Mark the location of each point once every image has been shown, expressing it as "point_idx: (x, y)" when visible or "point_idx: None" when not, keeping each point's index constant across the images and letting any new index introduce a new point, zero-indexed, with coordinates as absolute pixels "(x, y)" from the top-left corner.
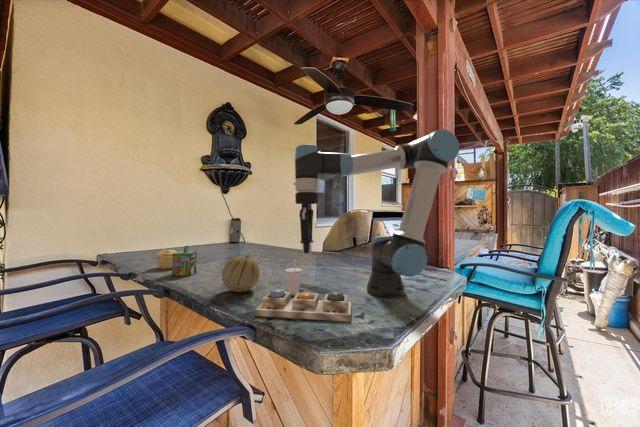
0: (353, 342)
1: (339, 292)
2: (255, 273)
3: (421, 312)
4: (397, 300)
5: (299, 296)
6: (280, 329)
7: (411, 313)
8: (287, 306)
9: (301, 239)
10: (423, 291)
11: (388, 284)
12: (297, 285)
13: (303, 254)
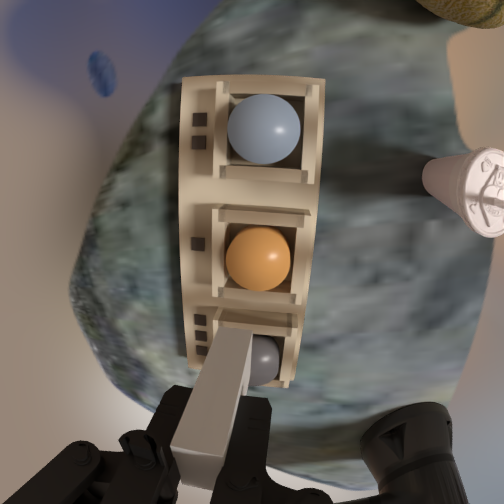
0: (105, 343)
1: (263, 377)
2: (456, 1)
3: (268, 462)
4: (342, 447)
5: (238, 236)
6: (114, 190)
7: None
8: (225, 183)
9: (59, 454)
10: None
11: (371, 462)
12: (442, 201)
13: (203, 371)
